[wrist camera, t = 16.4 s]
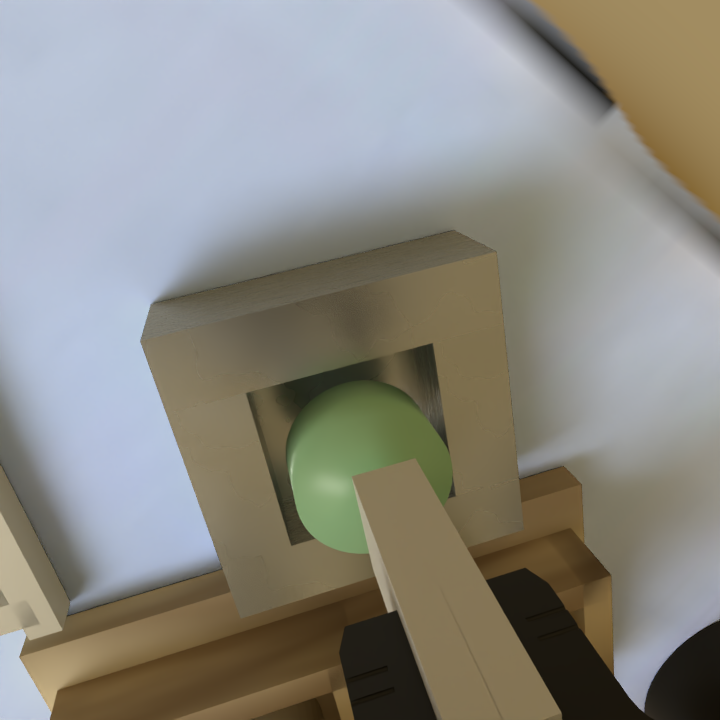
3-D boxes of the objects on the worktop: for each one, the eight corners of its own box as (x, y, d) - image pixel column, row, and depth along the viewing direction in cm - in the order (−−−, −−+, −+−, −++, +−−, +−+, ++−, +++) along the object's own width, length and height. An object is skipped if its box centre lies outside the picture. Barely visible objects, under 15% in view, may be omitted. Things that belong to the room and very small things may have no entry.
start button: (269, 403, 16) (277, 440, 14) (416, 363, 17) (441, 394, 15) (303, 525, 18) (314, 572, 16) (436, 485, 18) (461, 527, 17)
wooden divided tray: (29, 627, 20) (-6, 730, 17) (563, 466, 23) (624, 528, 20) (155, 855, 26) (148, 967, 22) (578, 704, 28) (628, 785, 25)
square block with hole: (150, 303, 17) (140, 340, 15) (454, 230, 19) (496, 251, 16) (236, 552, 21) (240, 618, 18) (485, 477, 22) (524, 529, 20)
